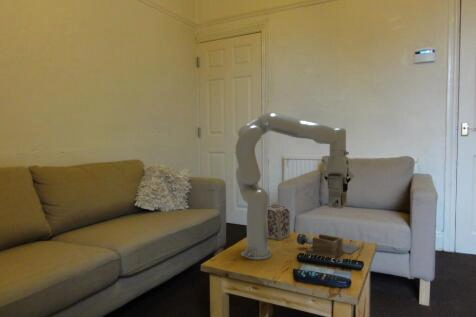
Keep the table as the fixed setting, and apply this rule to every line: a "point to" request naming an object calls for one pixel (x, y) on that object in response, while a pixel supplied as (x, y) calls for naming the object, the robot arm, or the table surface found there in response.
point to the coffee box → (336, 191)
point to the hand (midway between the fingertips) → (337, 190)
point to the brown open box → (326, 246)
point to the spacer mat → (349, 248)
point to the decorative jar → (278, 222)
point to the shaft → (304, 239)
